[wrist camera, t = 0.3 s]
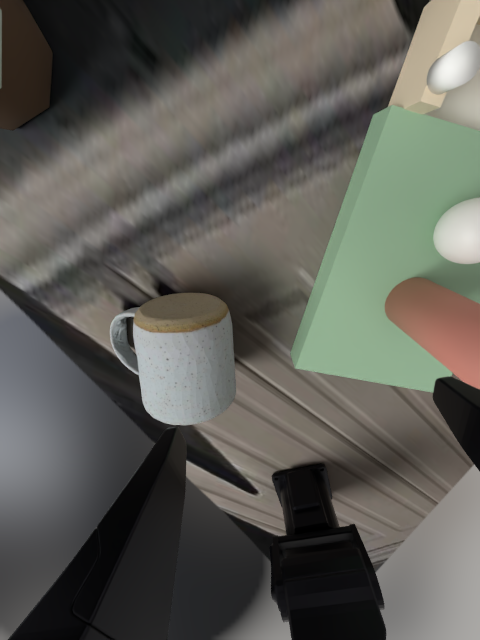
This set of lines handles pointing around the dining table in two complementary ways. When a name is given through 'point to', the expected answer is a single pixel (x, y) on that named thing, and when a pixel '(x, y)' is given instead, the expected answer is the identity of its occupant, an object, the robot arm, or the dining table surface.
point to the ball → (459, 233)
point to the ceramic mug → (180, 356)
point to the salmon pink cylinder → (439, 324)
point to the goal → (444, 64)
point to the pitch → (389, 250)
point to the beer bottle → (22, 66)
